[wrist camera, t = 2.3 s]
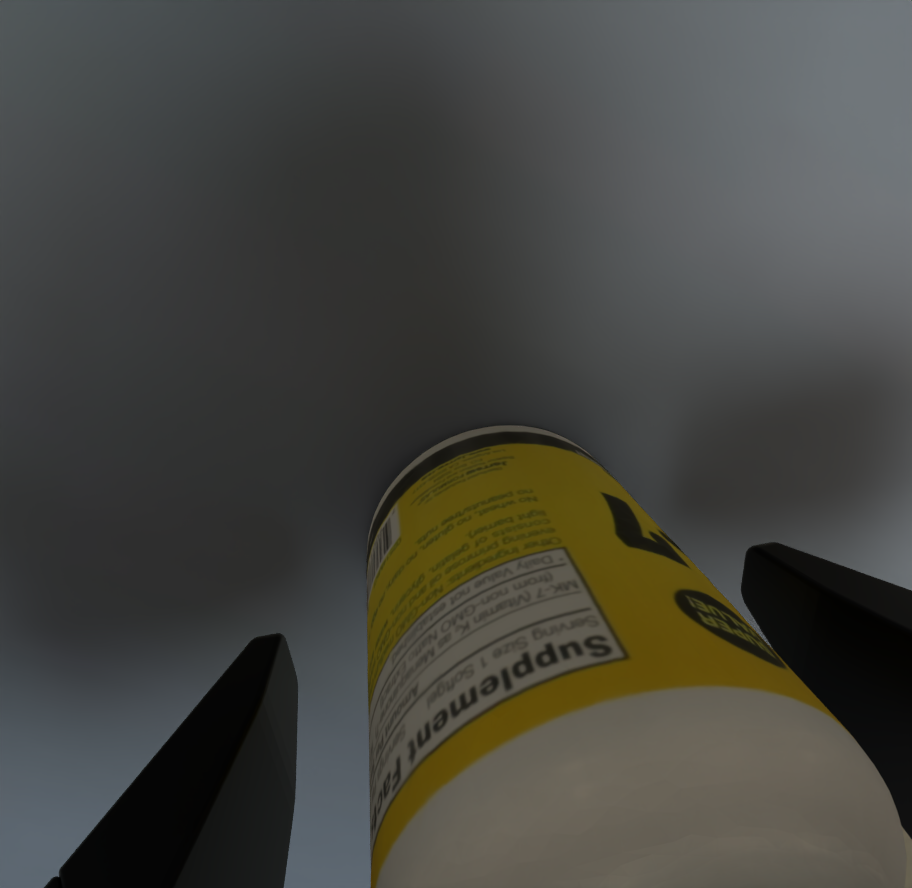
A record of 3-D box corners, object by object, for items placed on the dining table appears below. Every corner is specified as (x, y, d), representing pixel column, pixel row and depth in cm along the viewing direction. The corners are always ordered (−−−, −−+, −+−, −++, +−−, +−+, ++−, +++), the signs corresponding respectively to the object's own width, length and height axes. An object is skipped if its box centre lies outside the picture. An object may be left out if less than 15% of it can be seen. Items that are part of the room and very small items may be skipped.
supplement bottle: (652, 558, 11) (1275, 1318, 4) (453, 674, 12) (632, 1583, 4) (547, 363, 9) (1436, 1137, 2) (310, 510, 10) (120, 1699, 2)
